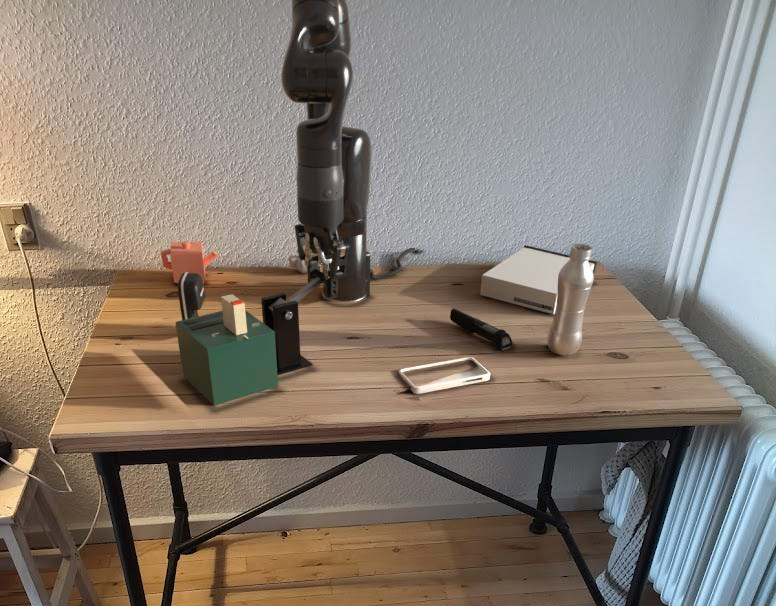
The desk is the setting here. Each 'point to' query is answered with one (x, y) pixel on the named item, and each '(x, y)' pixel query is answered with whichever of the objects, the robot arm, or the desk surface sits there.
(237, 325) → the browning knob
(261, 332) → the toaster
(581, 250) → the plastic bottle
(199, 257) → the pink cube teapot
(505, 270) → the disc drive
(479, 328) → the electric trimmer
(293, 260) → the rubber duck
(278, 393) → the desk surface
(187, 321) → the toaster slots
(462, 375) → the phone case
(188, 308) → the black computer mouse
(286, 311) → the black lever stand
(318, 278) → the lever
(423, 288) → the desk surface
